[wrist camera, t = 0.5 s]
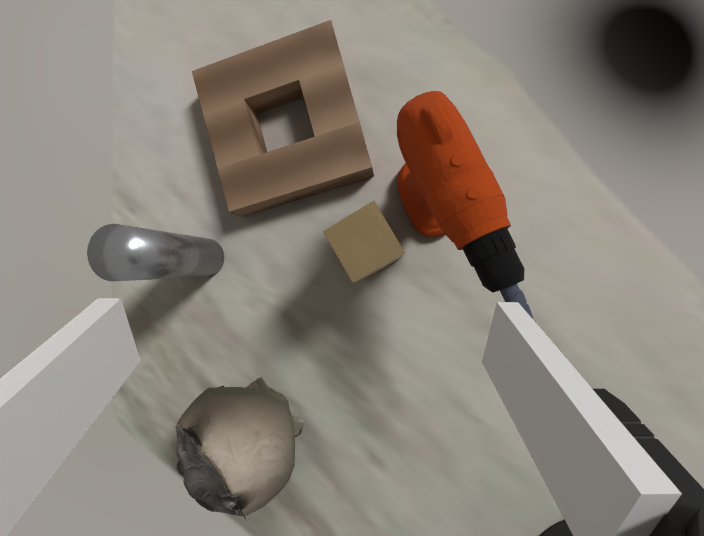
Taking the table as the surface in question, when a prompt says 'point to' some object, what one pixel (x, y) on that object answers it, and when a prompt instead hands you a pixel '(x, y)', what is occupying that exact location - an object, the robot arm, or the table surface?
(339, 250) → the light brown rectangular block
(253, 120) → the socket block
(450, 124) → the toy drill
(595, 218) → the table surface
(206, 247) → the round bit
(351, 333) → the table surface
